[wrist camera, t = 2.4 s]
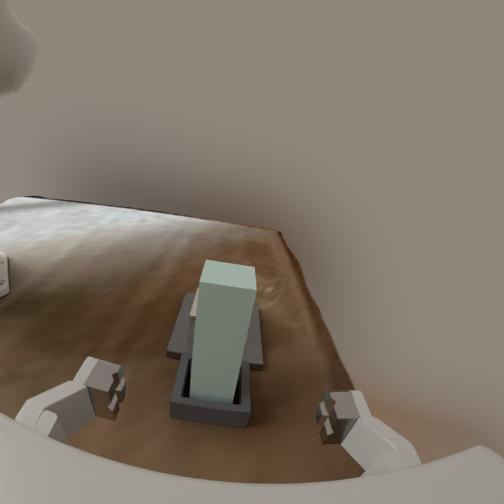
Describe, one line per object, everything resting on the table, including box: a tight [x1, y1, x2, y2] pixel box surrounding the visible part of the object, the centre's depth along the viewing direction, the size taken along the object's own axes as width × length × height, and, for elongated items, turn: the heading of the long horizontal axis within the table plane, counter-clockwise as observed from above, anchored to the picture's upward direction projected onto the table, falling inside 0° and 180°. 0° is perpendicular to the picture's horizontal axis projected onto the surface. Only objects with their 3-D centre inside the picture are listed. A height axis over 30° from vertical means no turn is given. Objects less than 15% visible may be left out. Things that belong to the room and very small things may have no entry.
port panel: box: [166, 288, 263, 371], centre depth 38 cm, size 14×11×4 cm
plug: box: [189, 260, 257, 404], centre depth 25 cm, size 4×4×14 cm
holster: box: [170, 352, 251, 428], centre depth 27 cm, size 7×7×2 cm
